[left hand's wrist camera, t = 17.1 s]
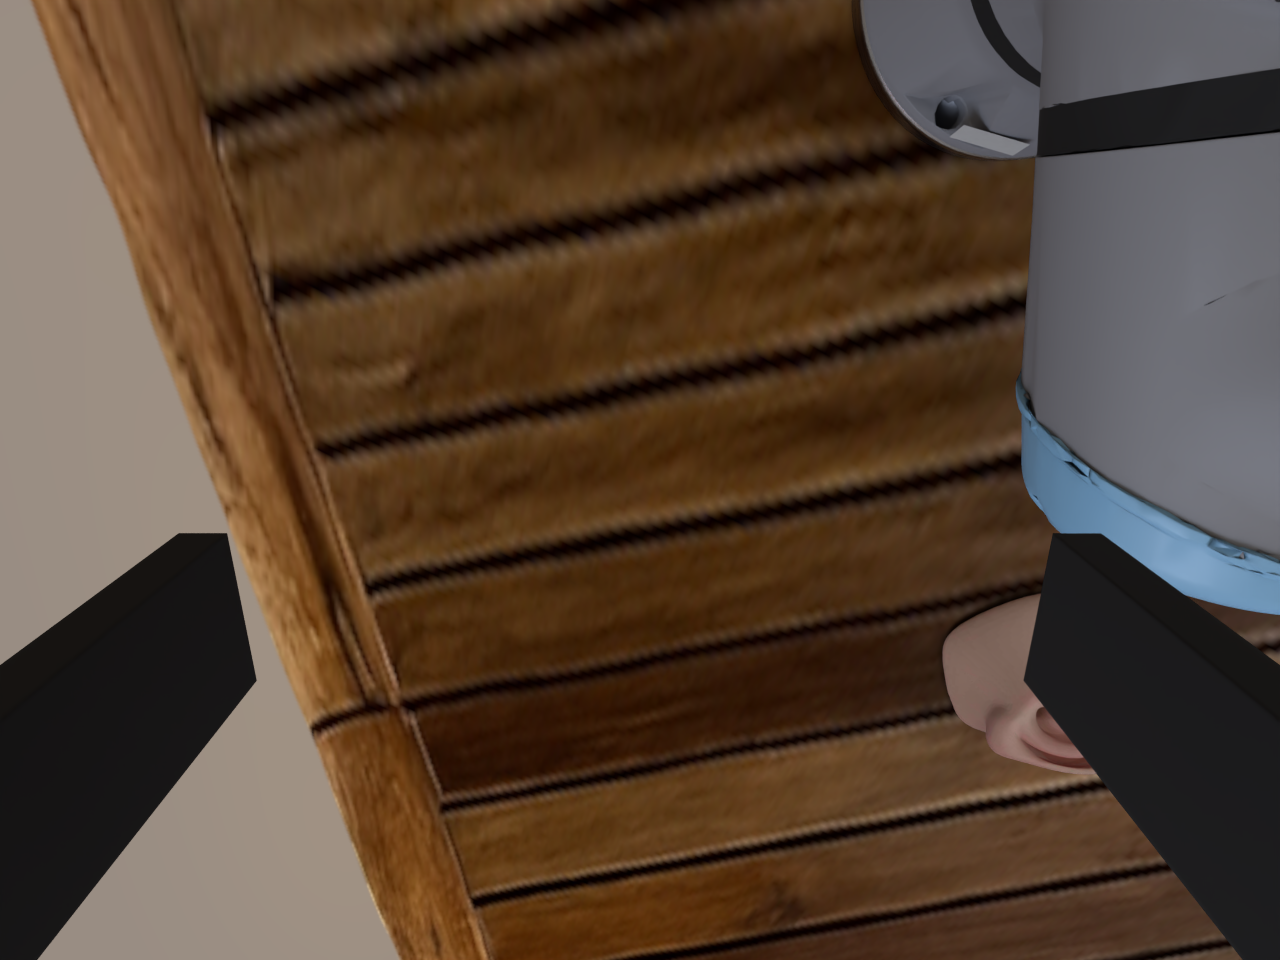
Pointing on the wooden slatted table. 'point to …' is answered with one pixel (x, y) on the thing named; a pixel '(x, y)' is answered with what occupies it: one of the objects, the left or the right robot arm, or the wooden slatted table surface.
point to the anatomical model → (1005, 688)
